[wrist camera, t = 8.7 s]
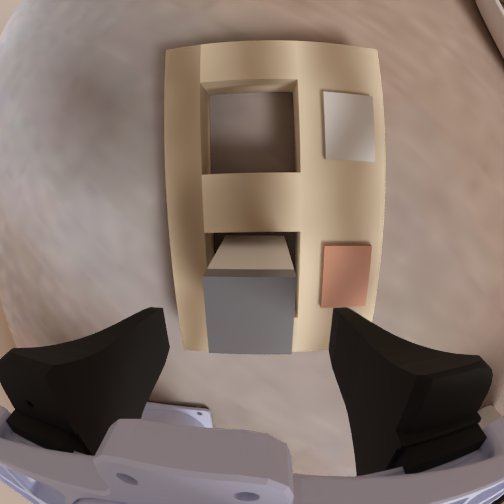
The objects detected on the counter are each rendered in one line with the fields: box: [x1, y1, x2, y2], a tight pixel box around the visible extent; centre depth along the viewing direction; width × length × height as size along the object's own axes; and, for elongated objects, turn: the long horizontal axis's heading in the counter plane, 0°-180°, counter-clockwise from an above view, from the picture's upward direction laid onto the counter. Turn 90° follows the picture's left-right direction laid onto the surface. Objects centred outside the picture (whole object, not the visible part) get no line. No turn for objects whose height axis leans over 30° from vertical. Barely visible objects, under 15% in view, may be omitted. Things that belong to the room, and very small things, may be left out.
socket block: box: [164, 40, 385, 352], centre depth 18 cm, size 13×20×3 cm, turn 1°
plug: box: [203, 235, 296, 354], centre depth 17 cm, size 4×4×8 cm
